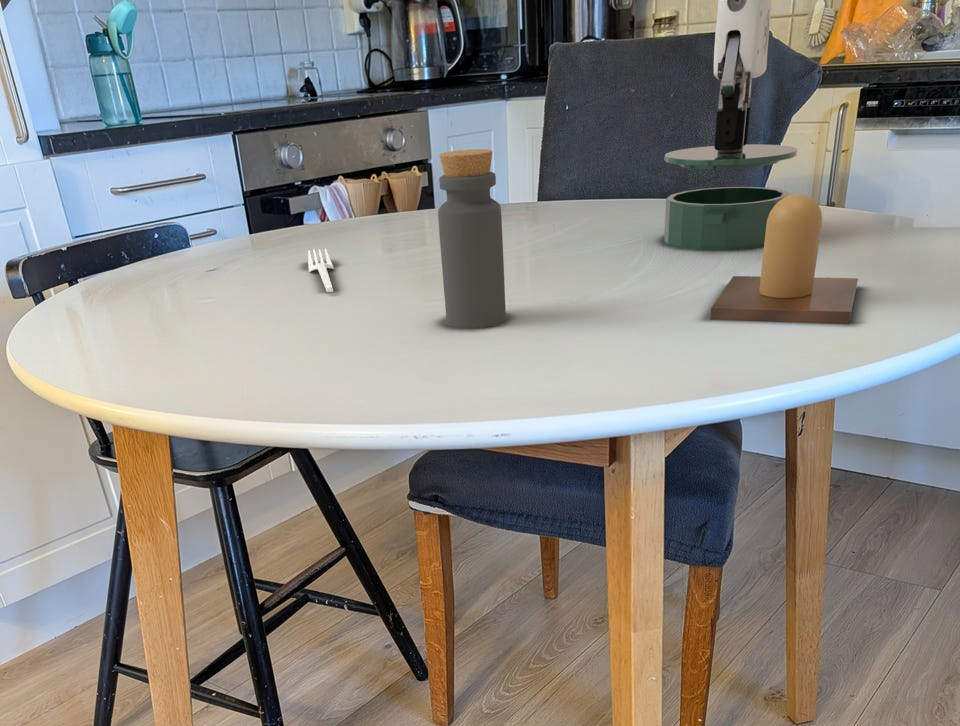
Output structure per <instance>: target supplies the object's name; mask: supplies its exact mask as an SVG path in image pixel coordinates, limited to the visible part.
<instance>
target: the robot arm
mask: <svg viewBox="0 0 960 726" xmlns="http://www.w3.org/2000/svg"><path fill="white" fill-rule="evenodd" d="M716 10H717V12H716V21H715V33H714V34H715V35H714V48H713V49H714V50H713V76H714V77H715V78H716V79H717V80H719V82H720V83H719V85H720V86H719V95H718V105H717V111H716V119H715V120H716V122H715V134H714V144H713V146H714V148H715V150H739V149H741V148H742V145H743V146H745V145H747V144H748V137H749V127H750V126H749V125H750V118H751V117H750V115H751V107H750V104H751V94H752V83H753V79H756V78H759V77H761V76H763V74H765V72H766V71H767V67H768V66H767V65H768V53H769V52H768V51H769V36H770V24H771V12H772V0H717V9H716ZM744 103H747V112H746V110H743V107H744ZM745 113H746V123H745ZM744 124H745V133H744ZM743 134H744V144H743Z"/></svg>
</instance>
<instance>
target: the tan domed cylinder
mask: <svg viewBox="0 0 960 726" xmlns="http://www.w3.org/2000/svg"><path fill="white" fill-rule="evenodd" d="M822 225H823V214H822V209H821V206H820V205H819V204H818V202H817V201H816V200H815V199H814V198H812V197H811V196H809V195H806V194H803V193H794V194H789V196H787V197H785V198H783V199H781V200H780V201H779V202H778V203H777V204H776V205H775V206H774V207H773V208H772V210H771V212H770V214H769V216H768V219H767V224H766V233H765V242H764V246H763V253H762V263H761V271H760V273H761V274H760V277H761V279H760V288H759V293H760V294H761V295H764V296H767V297H773V298H798V297H804V296H807V295H810V294H811V293H812V289H813V282H814V278H815V275H816V267H817V260H818V255H819V245H820V239H821V233H822V227H823V226H822Z"/></svg>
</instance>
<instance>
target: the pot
mask: <svg viewBox="0 0 960 726" xmlns="http://www.w3.org/2000/svg"><path fill="white" fill-rule="evenodd" d="M789 195H790V192H787V191H786V190H783V189H778V188H773V187H761V186H760V187H758V186H725V187H724V186H722V187H710V188H709V187H708V188H698V189H690V190H683V191H679V192H675V193H671V194H670V195H668V196H667V197H666V198H665V212H664V213H665V215H664V233H663V234H664V235H663V236H664V237H663V241H664V242H665V244H667V245H669V246H672V247H675V248H680V249H688V250H697V251H732V250H733V251H734V250H746V249H748V250H749V249H755V248H761V247H764V242H765V233H766V224H767V219H768V216H769V214H770V212H771V210H772V208H773V207H774V206H775V205H776V204H777V203H778V202H779V201H780V200H781V199H783V198H785V197H787V196H789Z"/></svg>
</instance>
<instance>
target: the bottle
mask: <svg viewBox="0 0 960 726" xmlns="http://www.w3.org/2000/svg"><path fill="white" fill-rule="evenodd" d="M439 159H440V163H441V167H442V171H443V175H441V176H440V177H439V178H438V182H439V188H440V190H442V191H445V192H446V193H445V194H446V201H445V202H444V203H442V204H441V205H440V206H439V208H438V209H437V218H438V233H439V246H440V258H441V271H442V282H443V283H442V284H443V296H444V305H445V306H444V307H445V317H446V318H445V319H446V325H447V326H449V327H451V328H454V329H461V330H462V329H463V330H477V329H486V328H491V327H495V326H498V325H500V324H503V323H504V322H506V320H507V317H506V316H507V314H506V313H507V312H506V311H507V310H506V290H505V289H506V286H505V262H504V240H503V222H502V221H503V219H502V207H501V204H500V203H499V202H498V201H497V200H496V199H493V198H492V197H491V188H493V187H494V186H496V184H497V178H496V173H495V172H493V171H491V167H492V166H491V165H492V159H493V150H491V149H486V148H484V149H483V148H482V149H479V148H477V149H462V150H461V149H460V150H459V149H458V150H452V151H445V152H442V153H440V154H439Z"/></svg>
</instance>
